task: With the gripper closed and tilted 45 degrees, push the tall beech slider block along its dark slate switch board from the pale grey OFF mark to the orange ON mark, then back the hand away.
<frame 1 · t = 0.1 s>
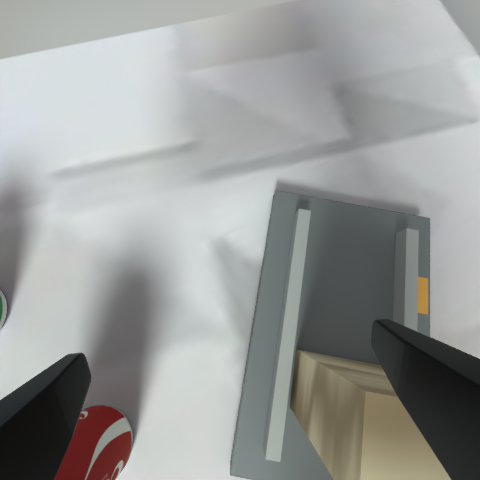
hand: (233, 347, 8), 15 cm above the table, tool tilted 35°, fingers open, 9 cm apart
slider tab: (378, 413, 15), point 7 cm above the table, slide at 0.0 cm
soda can: (101, 439, 21), on the table
switch board: (335, 329, 23), on the table
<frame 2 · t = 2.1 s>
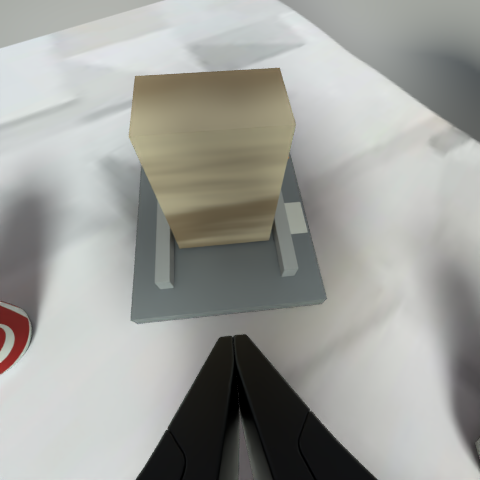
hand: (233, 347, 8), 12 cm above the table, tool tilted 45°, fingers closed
slider tab: (218, 178, 17), point 7 cm above the table, slide at 0.0 cm
switch board: (220, 195, 25), on the table
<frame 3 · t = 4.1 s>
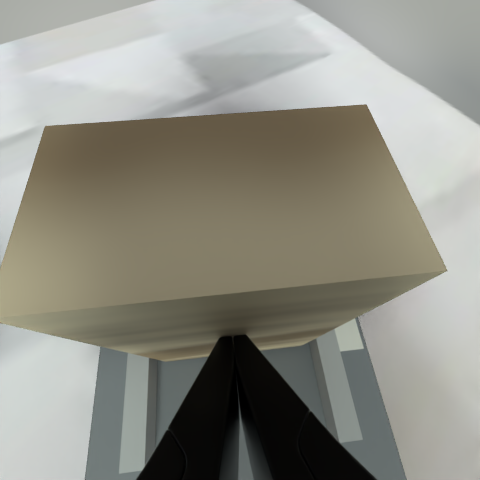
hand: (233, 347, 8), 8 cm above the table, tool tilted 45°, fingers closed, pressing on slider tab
slider tab: (227, 282, 10), point 7 cm above the table, slide at 1.0 cm, touching gripper
switch board: (227, 273, 18), on the table
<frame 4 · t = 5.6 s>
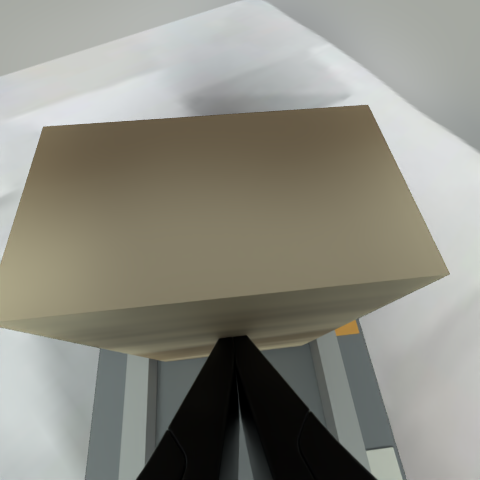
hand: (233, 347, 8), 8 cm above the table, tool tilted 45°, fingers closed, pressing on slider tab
slider tab: (227, 283, 10), point 7 cm above the table, slide at 8.2 cm, touching gripper
switch board: (239, 400, 14), on the table
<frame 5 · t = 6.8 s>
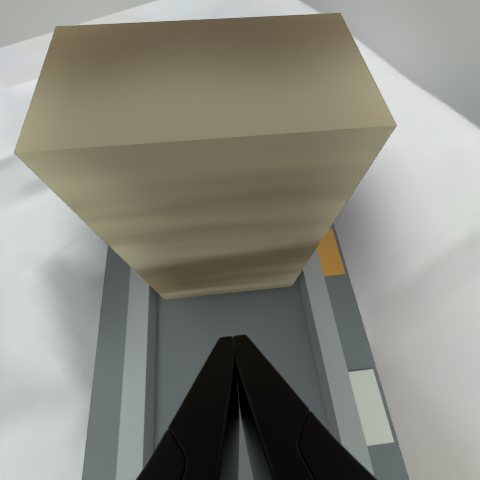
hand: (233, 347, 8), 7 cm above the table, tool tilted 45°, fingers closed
slider tab: (220, 208, 11), point 7 cm above the table, slide at 8.0 cm
switch board: (232, 335, 16), on the table
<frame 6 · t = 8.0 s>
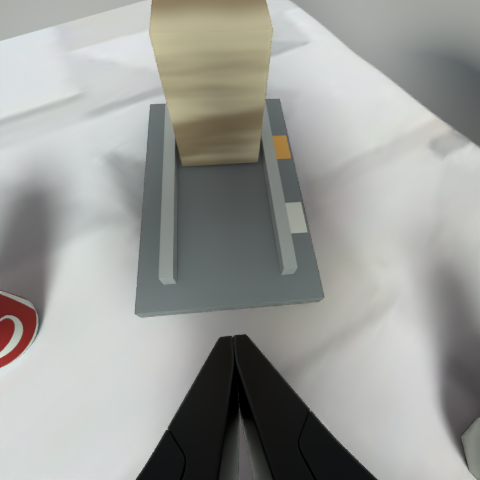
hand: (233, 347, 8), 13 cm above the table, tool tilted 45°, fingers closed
slider tab: (215, 96, 21), point 7 cm above the table, slide at 8.0 cm
soda can: (7, 332, 20), on the table
switch board: (222, 193, 26), on the table
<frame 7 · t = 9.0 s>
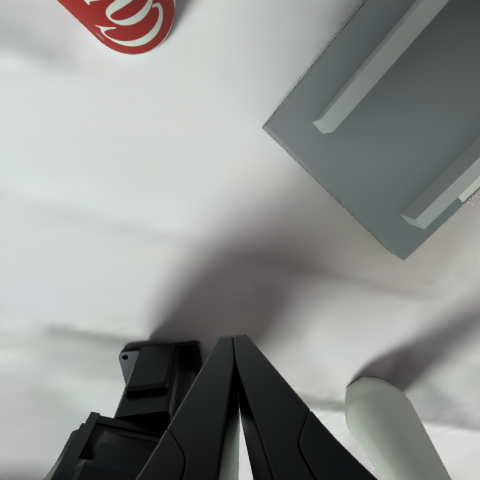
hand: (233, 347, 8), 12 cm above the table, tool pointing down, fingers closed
soda can: (130, 5, 15), on the table
salt shaker: (363, 390, 26), on the table
switch board: (453, 66, 18), on the table
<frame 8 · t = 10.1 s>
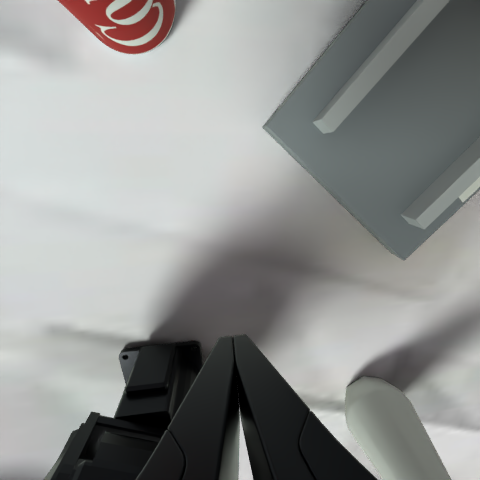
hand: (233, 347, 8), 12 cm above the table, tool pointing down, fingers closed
soda can: (130, 5, 15), on the table
salt shaker: (363, 390, 26), on the table
switch board: (454, 66, 18), on the table
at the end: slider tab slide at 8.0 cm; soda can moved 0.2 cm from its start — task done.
